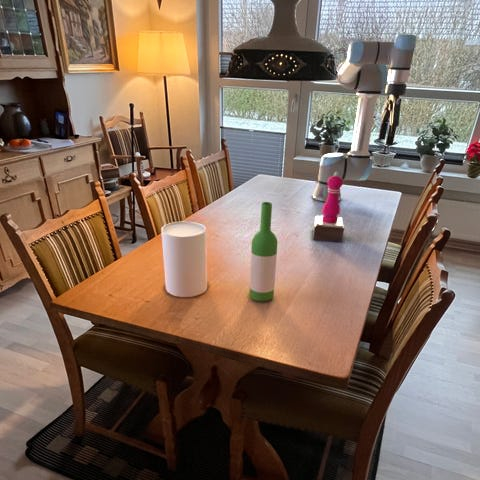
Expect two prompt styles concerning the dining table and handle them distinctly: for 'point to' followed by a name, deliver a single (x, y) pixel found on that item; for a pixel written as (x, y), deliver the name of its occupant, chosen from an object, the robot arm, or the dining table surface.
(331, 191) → the pepper mill
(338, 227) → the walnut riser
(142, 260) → the dining table surface
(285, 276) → the dining table surface
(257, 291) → the wine bottle
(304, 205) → the dining table surface
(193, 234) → the canister
